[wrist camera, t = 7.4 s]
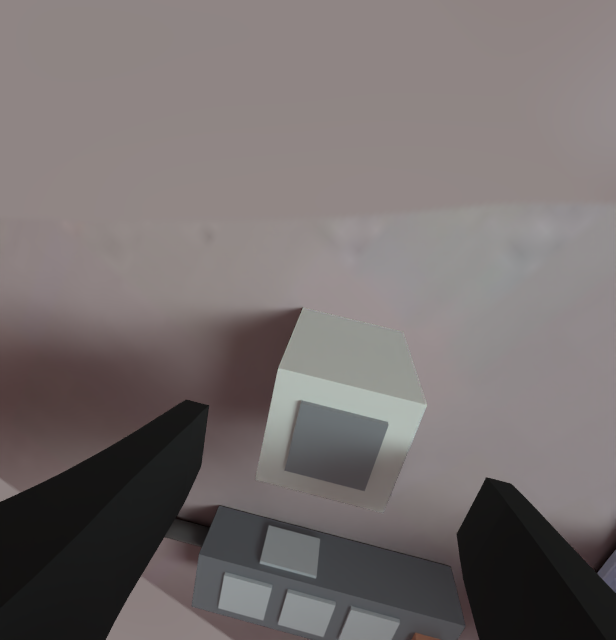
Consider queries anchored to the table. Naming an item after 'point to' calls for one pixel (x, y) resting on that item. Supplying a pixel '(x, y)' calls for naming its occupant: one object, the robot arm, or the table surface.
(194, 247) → the table surface
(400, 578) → the power strip
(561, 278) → the table surface
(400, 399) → the charger plug
